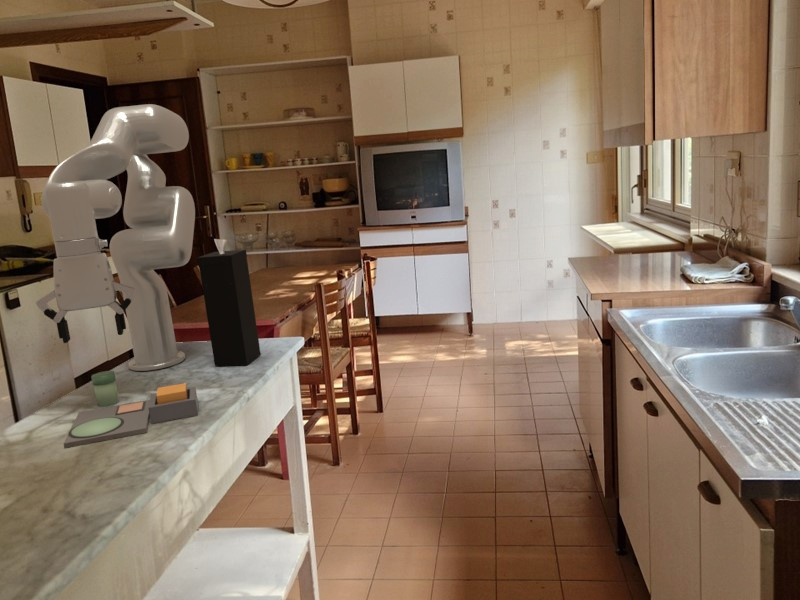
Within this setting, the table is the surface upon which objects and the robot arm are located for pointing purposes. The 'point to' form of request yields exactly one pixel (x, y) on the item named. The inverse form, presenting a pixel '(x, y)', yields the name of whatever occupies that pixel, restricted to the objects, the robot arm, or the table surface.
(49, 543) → the table surface
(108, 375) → the green capped cylinder
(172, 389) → the button
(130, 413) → the colouring board
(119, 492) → the table surface
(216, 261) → the tissue box
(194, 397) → the button housing
